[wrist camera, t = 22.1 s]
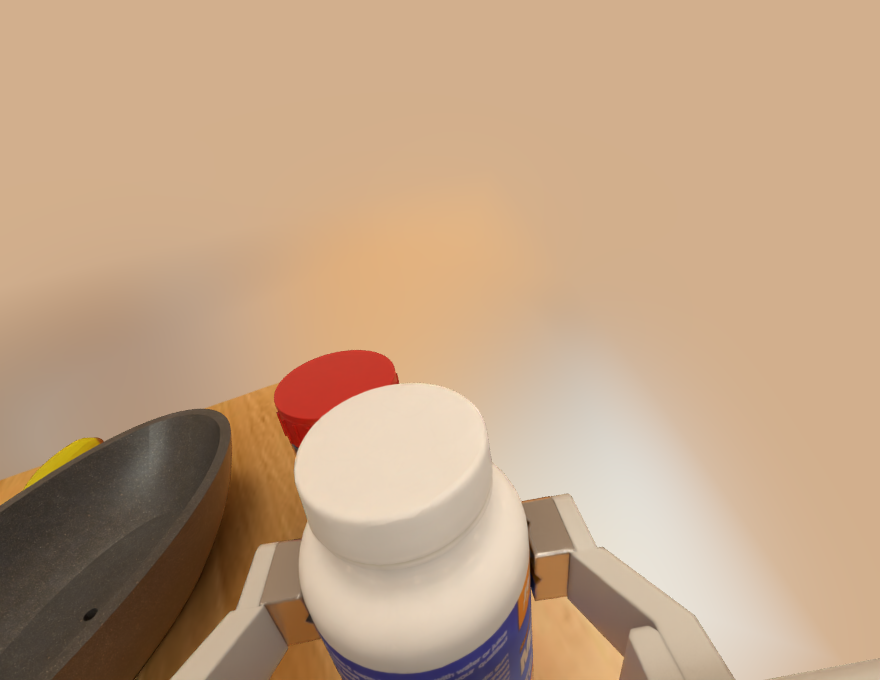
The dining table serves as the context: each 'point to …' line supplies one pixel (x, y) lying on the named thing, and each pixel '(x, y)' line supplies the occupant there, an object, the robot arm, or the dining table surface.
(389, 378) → the lid
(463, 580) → the pill bottle
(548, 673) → the dining table surface
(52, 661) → the bowl
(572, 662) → the dining table surface
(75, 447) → the fruit
